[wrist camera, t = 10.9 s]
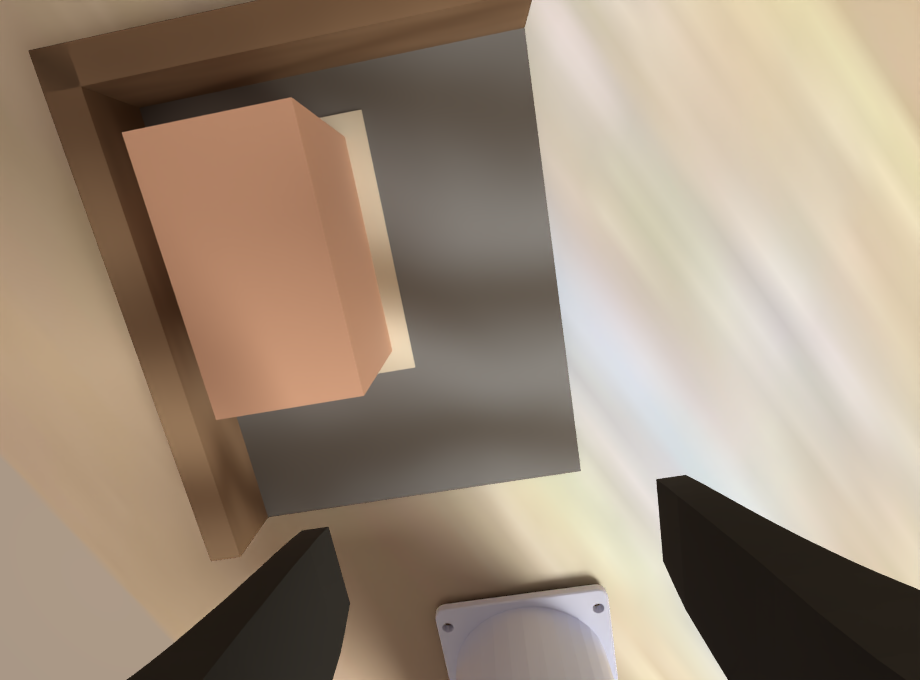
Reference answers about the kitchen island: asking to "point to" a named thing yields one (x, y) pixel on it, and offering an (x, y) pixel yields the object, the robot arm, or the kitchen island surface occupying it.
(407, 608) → the kitchen island surface
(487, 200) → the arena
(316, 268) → the block
